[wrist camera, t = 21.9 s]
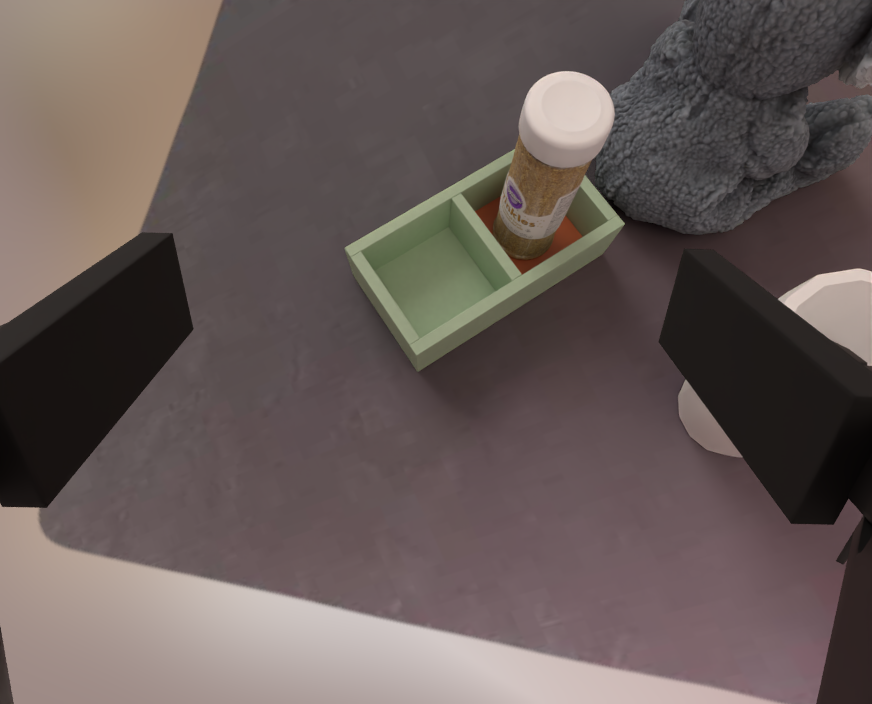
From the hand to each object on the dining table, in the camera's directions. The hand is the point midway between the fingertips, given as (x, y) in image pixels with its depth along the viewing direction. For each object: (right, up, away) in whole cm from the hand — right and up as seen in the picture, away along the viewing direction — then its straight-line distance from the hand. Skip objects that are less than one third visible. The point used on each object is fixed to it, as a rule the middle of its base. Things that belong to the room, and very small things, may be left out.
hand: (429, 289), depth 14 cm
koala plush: (+20, +14, +28) cm, 37 cm away
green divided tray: (+3, +5, +25) cm, 26 cm away
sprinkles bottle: (+7, +7, +25) cm, 27 cm away
